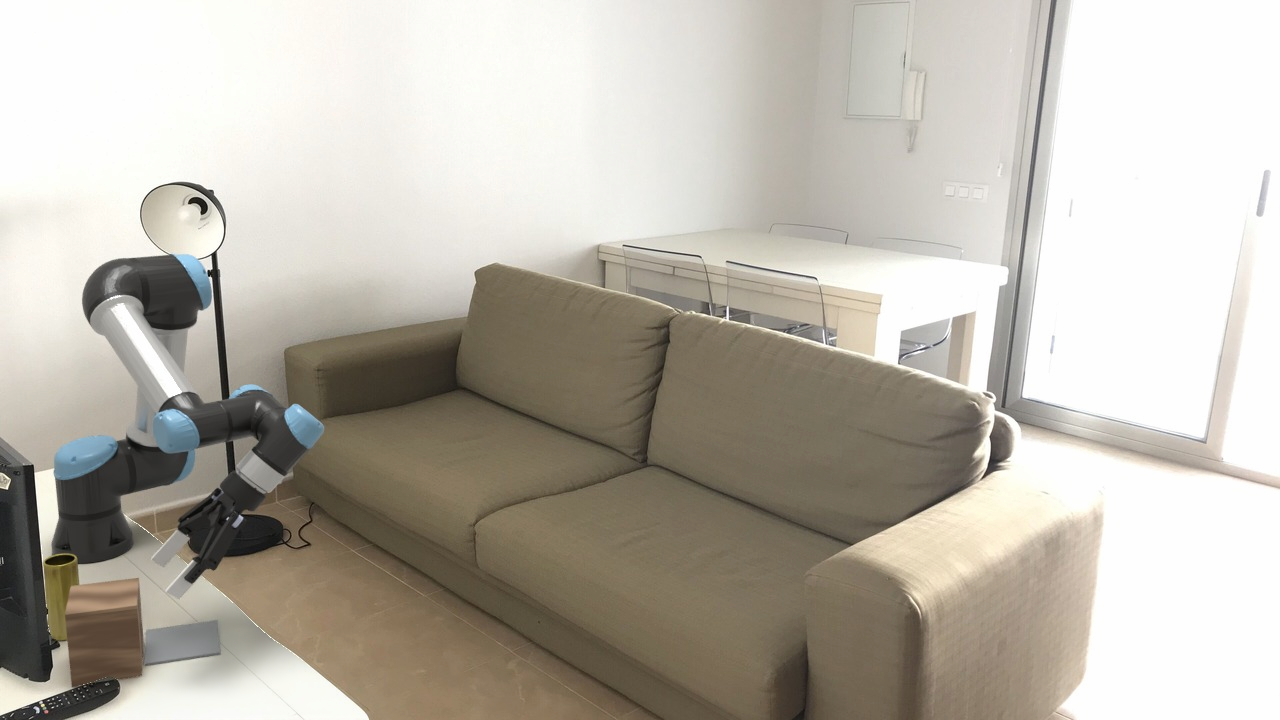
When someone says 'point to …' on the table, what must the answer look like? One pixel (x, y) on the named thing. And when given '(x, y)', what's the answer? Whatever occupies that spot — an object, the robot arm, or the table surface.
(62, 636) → the vase
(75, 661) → the brown wooden block
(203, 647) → the mat
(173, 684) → the table surface
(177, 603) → the table surface
